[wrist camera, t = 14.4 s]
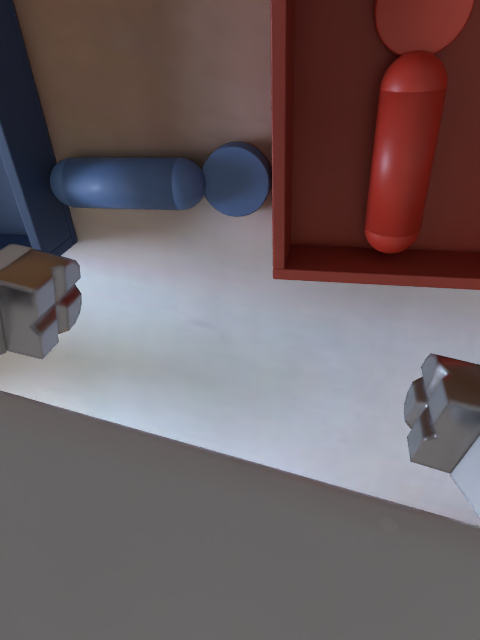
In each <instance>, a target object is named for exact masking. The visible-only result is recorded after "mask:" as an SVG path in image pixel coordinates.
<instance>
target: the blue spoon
mask: <svg viewBox="0 0 480 640" xmlns="http://www.w3.org/2000/svg"><path fill="white" fill-rule="evenodd" d="M271 183H272V174H271V169H270V166H269V163H268V161H267V160H266V158H265V157H264V155H263V154H262V153H261V152H260V151H259V150H258V149H256V148H255V147H253V146H251V145H249V144H246V143H241V142H232V143H227V144H225V145H222V146H221V147H219V148H218V149H216V150H215V151H214V152H213V153H212V154H211V155H210V156H209V157H208V159H207V160H206V162H205V163H204V165H203V168H202V171H201V169H200V168H199V166H197V165H196V164H195V163H194V162H192V161H191V160H188V159H185V158H67V159H64V160H61V161H60V162H59V163H57V164H56V165H55V166H54V168H53V169H52V171H51V175H50V186H51V189H52V191H53V193H54V195H55V196H56V197H57V198H58V200H59V201H61V202H62V203H64V204H65V205H68V206H70V207H76V208H113V209H155V210H187V209H190V208H192V207H194V206H195V205H197V204H198V203H199V202H200V200H201V199H202V197H203V195H205V197H206V199H207V200H208V202H209V203H210V204H211V205H212V206H213V207H214V208H215V209H216V210H218V211H219V212H221V213H223V214H226V215H229V216H236V217H239V216H246V215H249V214H251V213H253V212H255V211H256V210H257V209H259V208H260V207H261V205H262V204H263V203H264V201H265V200H266V198H267V195H268V193H269V191H270V188H271Z"/></svg>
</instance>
